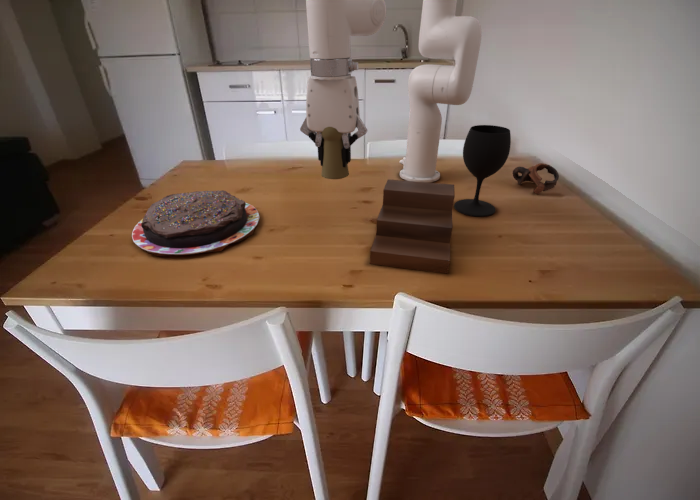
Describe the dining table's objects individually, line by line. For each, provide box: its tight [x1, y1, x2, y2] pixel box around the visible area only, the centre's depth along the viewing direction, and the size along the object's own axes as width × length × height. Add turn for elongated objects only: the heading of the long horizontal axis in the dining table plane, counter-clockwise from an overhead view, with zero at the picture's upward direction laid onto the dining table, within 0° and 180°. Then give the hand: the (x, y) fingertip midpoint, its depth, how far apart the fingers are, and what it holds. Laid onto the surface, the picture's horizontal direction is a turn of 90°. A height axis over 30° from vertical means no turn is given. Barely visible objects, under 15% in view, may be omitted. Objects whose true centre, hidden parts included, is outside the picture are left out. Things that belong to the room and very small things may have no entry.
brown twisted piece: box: [512, 162, 560, 195], centre depth 102 cm, size 12×10×8 cm
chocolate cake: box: [131, 190, 260, 257], centre depth 82 cm, size 28×28×7 cm
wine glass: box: [453, 124, 512, 218], centre depth 87 cm, size 10×10×20 cm
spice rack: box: [369, 178, 456, 274], centre depth 75 cm, size 21×15×10 cm
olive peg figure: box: [321, 127, 350, 180], centre depth 74 cm, size 6×6×11 cm
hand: (334, 163), depth 76 cm, fingers closed on olive peg figure, 4 cm apart
